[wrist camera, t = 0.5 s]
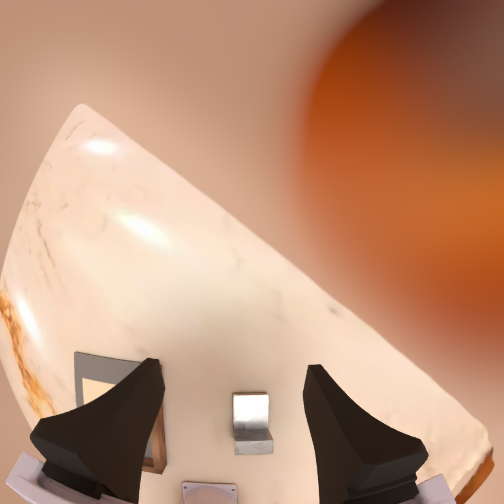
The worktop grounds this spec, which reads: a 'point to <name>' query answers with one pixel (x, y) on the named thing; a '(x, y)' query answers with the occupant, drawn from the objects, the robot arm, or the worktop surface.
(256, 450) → the angle bracket
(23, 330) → the worktop surface
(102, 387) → the corner mat
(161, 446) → the corner walls
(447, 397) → the worktop surface
